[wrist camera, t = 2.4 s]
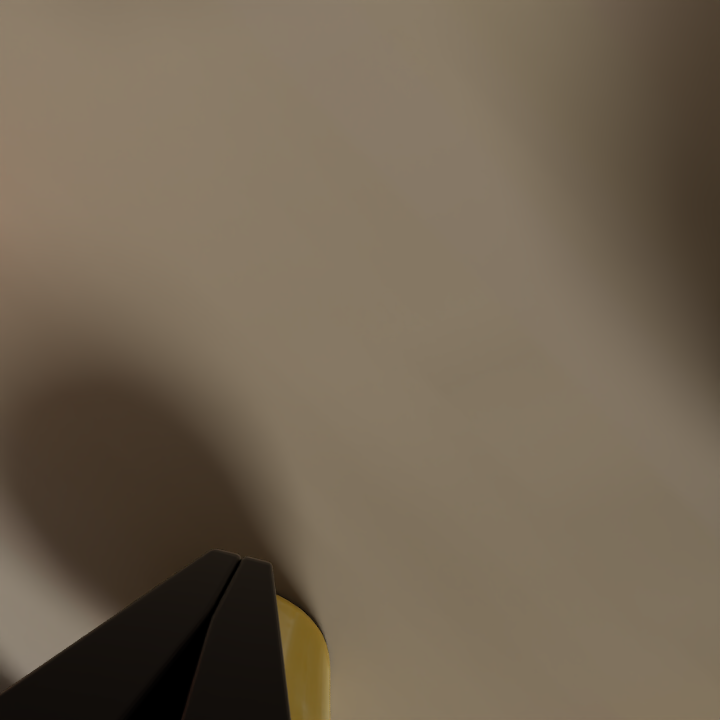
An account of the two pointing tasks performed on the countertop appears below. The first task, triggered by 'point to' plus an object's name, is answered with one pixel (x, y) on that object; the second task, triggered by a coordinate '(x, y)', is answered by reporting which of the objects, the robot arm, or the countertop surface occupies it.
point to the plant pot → (304, 663)
